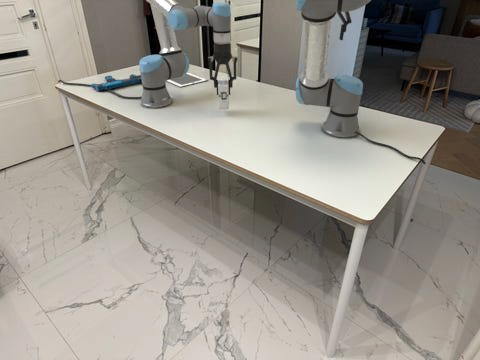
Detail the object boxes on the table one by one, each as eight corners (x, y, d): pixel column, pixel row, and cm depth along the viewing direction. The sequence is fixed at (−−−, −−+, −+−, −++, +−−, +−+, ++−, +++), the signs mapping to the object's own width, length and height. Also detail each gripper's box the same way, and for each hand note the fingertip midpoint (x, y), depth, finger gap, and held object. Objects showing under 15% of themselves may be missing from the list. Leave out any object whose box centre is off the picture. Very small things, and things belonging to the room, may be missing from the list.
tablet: (153, 75, 221) (153, 74, 221) (180, 69, 232) (180, 69, 232) (180, 87, 201) (180, 86, 200) (207, 80, 212) (207, 79, 211)
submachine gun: (136, 68, 224) (154, 75, 207) (137, 74, 226) (155, 81, 209) (84, 79, 205) (99, 86, 189) (85, 85, 207) (100, 93, 190)
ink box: (218, 103, 168) (217, 73, 160) (228, 103, 168) (228, 73, 160) (218, 109, 161) (217, 78, 153) (228, 109, 161) (228, 78, 153)
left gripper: (201, 44, 145) (204, 97, 158) (243, 44, 146) (242, 96, 159) (202, 40, 151) (204, 91, 164) (242, 40, 152) (241, 91, 165)
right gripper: (307, -11, 145) (302, 41, 157) (364, -11, 147) (355, 41, 158) (303, -12, 152) (299, 38, 163) (358, -13, 153) (349, 37, 165)
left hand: (223, 94), depth 162 cm, fingers closed on ink box, 5 cm apart
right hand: (326, 39), depth 161 cm, fingers open, 13 cm apart
